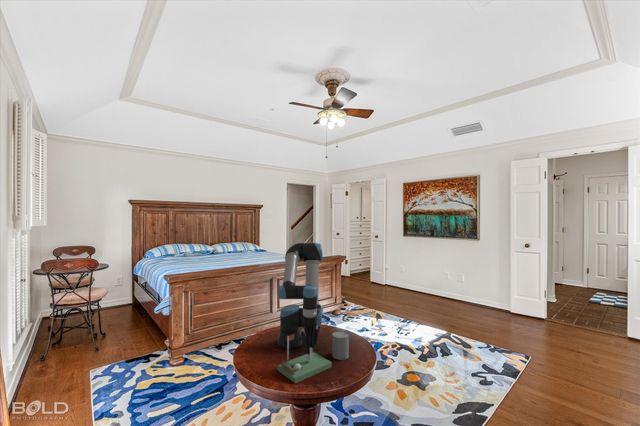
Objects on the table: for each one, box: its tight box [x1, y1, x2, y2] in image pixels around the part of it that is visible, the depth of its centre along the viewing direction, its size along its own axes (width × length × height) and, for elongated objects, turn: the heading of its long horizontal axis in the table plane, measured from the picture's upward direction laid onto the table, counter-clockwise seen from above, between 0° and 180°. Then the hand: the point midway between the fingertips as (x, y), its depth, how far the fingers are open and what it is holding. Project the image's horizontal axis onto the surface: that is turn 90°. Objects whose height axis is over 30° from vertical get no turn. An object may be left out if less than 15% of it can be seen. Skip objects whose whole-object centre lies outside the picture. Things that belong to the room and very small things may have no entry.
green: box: [276, 334, 333, 384], centre depth 161 cm, size 16×24×16 cm, turn 130°
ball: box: [294, 363, 301, 371], centre depth 158 cm, size 4×4×4 cm
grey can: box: [331, 330, 350, 361], centre depth 175 cm, size 10×10×12 cm
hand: (309, 359), depth 163 cm, fingers closed
